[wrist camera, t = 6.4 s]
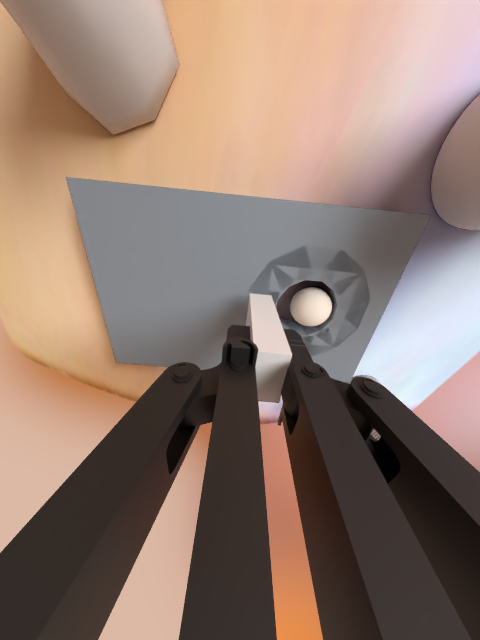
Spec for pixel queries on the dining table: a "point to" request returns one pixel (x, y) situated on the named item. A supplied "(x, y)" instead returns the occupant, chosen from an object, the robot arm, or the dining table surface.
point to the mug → (459, 172)
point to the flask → (104, 54)
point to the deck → (234, 268)
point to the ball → (311, 306)
